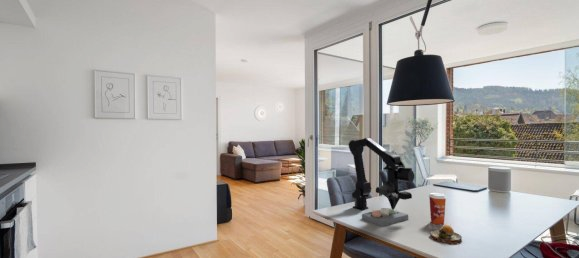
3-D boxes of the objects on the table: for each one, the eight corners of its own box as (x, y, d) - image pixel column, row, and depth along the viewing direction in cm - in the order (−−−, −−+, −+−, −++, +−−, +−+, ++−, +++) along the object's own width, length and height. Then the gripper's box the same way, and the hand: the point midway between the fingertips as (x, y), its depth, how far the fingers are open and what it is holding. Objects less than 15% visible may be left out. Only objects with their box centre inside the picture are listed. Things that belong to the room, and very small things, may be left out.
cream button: (379, 215, 145) (379, 208, 145) (384, 214, 147) (384, 207, 147) (385, 217, 141) (385, 210, 141) (390, 216, 143) (390, 209, 143)
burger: (452, 233, 125) (452, 216, 125) (468, 244, 113) (468, 226, 113) (424, 233, 125) (424, 216, 125) (437, 244, 114) (437, 226, 114)
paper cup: (437, 226, 133) (436, 196, 133) (425, 221, 141) (425, 192, 141) (450, 224, 135) (450, 195, 135) (438, 219, 143) (438, 191, 143)
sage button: (387, 215, 148) (387, 209, 148) (392, 214, 150) (392, 207, 150) (393, 217, 144) (393, 211, 144) (398, 216, 146) (398, 209, 146)
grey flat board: (362, 218, 145) (361, 213, 145) (387, 212, 154) (387, 208, 154) (381, 226, 134) (381, 221, 134) (408, 219, 143) (408, 214, 143)
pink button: (370, 217, 142) (370, 210, 142) (376, 216, 144) (376, 209, 144) (376, 220, 138) (376, 212, 138) (382, 218, 140) (382, 211, 140)
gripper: (368, 177, 151) (368, 207, 151) (397, 183, 135) (397, 216, 135) (382, 175, 156) (383, 204, 157) (412, 181, 140) (412, 212, 140)
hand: (393, 209), depth 147 cm, fingers closed
